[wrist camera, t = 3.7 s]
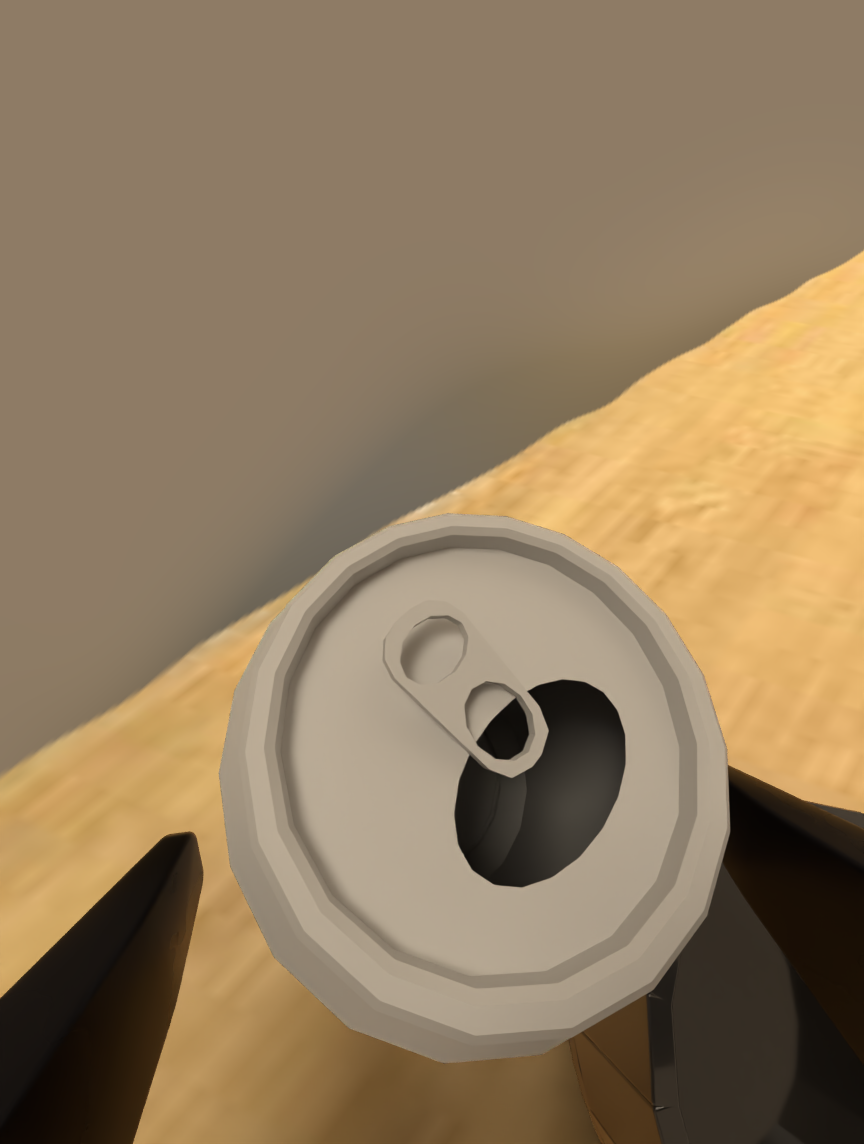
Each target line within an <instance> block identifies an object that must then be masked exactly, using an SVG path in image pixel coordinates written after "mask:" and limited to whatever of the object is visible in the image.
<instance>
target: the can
mask: <svg viewBox="0 0 864 1144" xmlns="http://www.w3.org/2000/svg"><path fill="white" fill-rule="evenodd" d="M219 779H220V787H221V795H222V803H223V812H224V820H225V828H226V836H227V845H228V853H229V861H230V867H231V869H232V871H233V873H234V875H235V878H236V880H237V882H238V884H239V886H240V888H241V890H242V892H243V894H244V896H245V898H246V900H247V902H248V905H249V907H250V909H251V911H252V913H253V915H254V917H255V919H256V921H257V923H258V925H259V927H260V929H261V932H262V934H263V936H264V938H265V940H266V942H267V944H268V946H269V948H270V950H271V952H272V954H273V956H274V958H275V959H276V960H277V961H278V962H280V963H281V964H282V965H283V966H284V967H285V968H286V969H287V970H288V971H289V972H290V973H291V974H292V975H293V976H294V977H295V978H296V979H297V980H298V981H300V982H301V983H302V984H303V985H304V986H305V987H306V988H307V989H308V990H309V991H310V992H311V993H312V994H313V995H314V996H315V997H316V998H317V999H318V1000H319V1001H321V1002H322V1003H323V1004H324V1005H325V1006H326V1007H327V1008H328V1009H329V1010H330V1011H331V1012H332V1013H333V1014H334V1015H335V1016H336V1017H337V1018H338V1019H339V1020H341V1021H342V1022H343V1023H344V1024H345V1025H346V1026H347V1027H348V1028H349V1029H352V1030H355V1031H358V1032H360V1033H363V1034H366V1035H368V1036H371V1037H374V1038H376V1039H379V1040H382V1041H385V1042H387V1043H390V1044H393V1045H395V1046H398V1047H401V1048H403V1049H406V1050H409V1051H412V1052H414V1053H417V1054H420V1055H422V1056H425V1057H428V1058H430V1059H433V1060H436V1061H439V1062H441V1063H455V1062H467V1061H478V1060H489V1059H501V1058H512V1057H524V1056H535V1055H542V1054H544V1053H546V1052H547V1051H549V1050H551V1049H553V1048H554V1047H556V1046H558V1045H559V1044H561V1043H563V1042H565V1041H566V1040H568V1039H570V1038H572V1037H574V1036H575V1035H577V1034H579V1033H581V1032H582V1031H584V1030H586V1029H587V1028H589V1027H591V1026H593V1025H594V1024H596V1023H598V1022H599V1021H601V1020H603V1019H605V1018H606V1017H608V1016H610V1015H611V1014H613V1013H615V1012H616V1011H618V1010H620V1009H622V1008H623V1007H625V1006H627V1005H628V1004H630V1003H632V1002H634V1001H635V1000H637V999H639V998H640V997H642V996H644V995H645V994H647V993H649V992H651V991H652V990H654V988H655V987H656V986H657V984H658V983H659V981H660V980H661V979H662V977H663V976H664V975H665V973H666V972H667V970H668V969H669V968H670V966H671V965H672V964H673V962H674V961H675V959H676V958H677V957H678V955H679V954H680V952H681V951H682V950H683V948H684V947H685V946H686V944H687V943H688V941H689V940H690V939H691V937H692V936H693V935H694V933H695V932H696V930H697V929H698V928H699V926H700V925H701V923H702V922H703V921H704V919H705V918H706V917H707V914H708V910H709V907H710V903H711V900H712V896H713V892H714V889H715V885H716V881H717V878H718V874H719V871H720V867H721V863H722V860H723V856H724V852H725V849H726V845H727V842H728V838H729V834H730V811H729V785H728V758H727V747H726V744H725V740H724V737H723V734H722V731H721V728H720V725H719V722H718V718H717V715H716V712H715V709H714V706H713V703H712V700H711V696H710V693H709V690H708V687H707V684H706V681H705V677H704V675H703V673H702V671H701V670H700V668H699V667H698V665H697V663H696V662H695V660H694V659H693V657H692V655H691V654H690V652H689V650H688V649H687V647H686V646H685V644H684V642H683V641H682V639H681V638H680V636H679V634H678V633H677V631H676V629H675V628H674V626H673V625H672V623H671V621H670V620H669V618H668V617H667V615H666V614H665V613H664V612H663V611H662V610H661V609H660V608H659V607H658V606H657V605H656V604H655V603H654V602H653V601H652V600H651V599H650V598H649V597H648V596H647V595H646V594H645V593H644V592H643V591H642V590H641V589H640V588H639V587H638V586H637V585H636V584H635V583H634V582H633V581H632V580H631V579H630V578H629V577H628V576H627V575H626V574H625V573H624V572H623V571H622V570H621V569H620V568H619V567H618V566H616V565H614V564H613V563H611V562H609V561H608V560H606V559H604V558H603V557H601V556H599V555H598V554H596V553H594V552H593V551H591V550H589V549H588V548H586V547H584V546H583V545H581V544H580V543H578V542H576V541H575V540H573V539H571V538H570V537H568V536H566V535H565V534H562V533H559V532H555V531H552V530H549V529H546V528H542V527H539V526H536V525H533V524H530V523H526V522H523V521H520V520H517V519H514V518H510V517H507V516H490V515H470V514H449V513H447V514H442V515H438V516H433V517H429V518H424V519H420V520H415V521H411V522H406V523H402V524H397V525H393V526H389V527H387V528H385V529H383V530H381V531H380V532H378V533H376V534H374V535H372V536H370V537H369V538H367V539H365V540H363V541H361V542H359V543H358V544H356V545H354V546H352V547H350V548H348V549H347V550H345V551H343V552H341V553H339V554H337V555H336V556H334V557H333V558H332V559H331V560H330V561H329V562H328V563H327V564H326V565H325V566H324V567H323V568H322V569H321V570H320V571H319V572H318V573H317V574H316V575H315V576H314V577H313V578H312V579H311V580H310V581H309V582H308V583H307V584H306V585H305V586H304V587H303V588H302V589H301V590H300V591H299V592H298V593H297V594H296V595H295V596H294V598H293V599H292V600H291V601H290V602H289V603H288V604H287V605H286V607H285V608H284V609H283V610H282V611H281V612H280V613H279V614H278V615H277V616H276V617H275V618H274V619H273V620H272V621H271V623H270V624H269V626H268V628H267V630H266V631H265V633H264V635H263V637H262V639H261V641H260V643H259V645H258V647H257V649H256V650H255V652H254V654H253V656H252V658H251V660H250V662H249V664H248V666H247V668H246V669H245V671H244V673H243V675H242V677H241V679H240V681H239V683H238V685H237V687H236V688H235V691H234V696H233V701H232V707H231V712H230V717H229V722H228V728H227V733H226V738H225V743H224V749H223V754H222V759H221V765H220V770H219Z"/></svg>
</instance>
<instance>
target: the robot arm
mask: <svg viewBox="0 0 864 1144" xmlns="http://www.w3.org/2000/svg"><path fill="white" fill-rule="evenodd" d="M728 785H729V811H730V834H729V838H728V842H727V845H726V849H725V852H724V856H723V860H722V863H723V864H724V866H725V868H726V869H727V871H728V873H729V874H730V876H731V878H732V879H733V881H734V882H735V884H736V886H737V887H738V889H739V890H740V892H741V894H742V895H743V897H744V898H745V900H746V901H747V902H748V904H749V905H750V907H751V908H752V910H753V911H754V913H755V914H756V915H757V917H758V918H759V920H760V921H761V922H762V924H763V925H764V927H765V928H766V929H767V931H768V932H769V934H770V935H771V936H772V938H773V939H774V941H775V942H776V943H777V945H778V946H779V948H780V949H781V950H782V952H783V953H784V955H785V956H786V957H787V959H788V960H789V962H790V963H791V965H792V966H793V967H794V969H795V970H796V972H797V973H798V974H799V976H800V977H801V979H802V980H803V981H804V983H805V984H806V986H807V987H808V988H809V990H810V991H811V993H812V994H813V995H814V997H815V998H816V1000H817V1001H818V1002H819V1004H820V1005H821V1007H822V1008H823V1009H824V1011H825V1012H826V1014H827V1015H828V1016H829V1018H830V1019H831V1021H832V1022H833V1023H834V1025H835V1026H836V1028H837V1029H838V1031H839V1032H840V1033H841V1035H842V1036H843V1038H844V1039H845V1040H846V1042H847V1043H848V1045H849V1046H850V1047H851V1049H852V1050H853V1052H854V1053H855V1054H856V1056H857V1057H858V1059H859V1060H860V1061H861V1063H862V1064H863V1066H864V829H863V828H861V827H859V826H857V825H855V824H852V823H850V822H848V821H846V820H844V819H842V818H840V817H838V816H835V815H833V814H831V813H829V812H827V811H825V810H823V809H820V808H818V807H816V806H814V805H812V804H810V803H808V802H806V801H803V800H801V799H799V798H797V797H795V796H793V795H791V794H789V793H786V792H784V791H782V790H780V789H778V788H776V787H774V786H772V785H769V784H767V783H765V782H763V781H761V780H759V779H757V778H755V777H752V776H750V775H748V774H746V773H744V772H742V771H740V770H738V769H735V768H733V767H731V766H729V765H728ZM202 884H203V866H202V861H201V857H200V852H199V847H198V843H197V838H196V835H195V834H194V833H193V832H183V833H175V834H169V835H166V836H165V837H163V838H162V839H161V840H160V841H159V842H158V843H157V844H156V845H155V846H154V847H153V848H152V849H151V850H150V851H149V852H148V853H147V854H146V855H145V856H144V857H143V858H142V859H141V860H140V861H139V862H138V863H137V864H136V865H135V866H134V867H132V868H131V869H130V870H129V871H128V872H127V873H126V874H125V875H124V876H123V877H122V878H121V879H120V880H119V881H118V882H117V883H116V884H115V885H114V886H113V887H112V888H111V889H110V890H109V891H108V892H107V893H106V894H105V895H104V896H103V897H102V898H101V899H100V900H99V901H98V902H97V903H96V904H95V905H94V906H93V907H92V908H91V909H90V910H89V911H88V912H87V913H86V914H85V915H84V916H83V917H82V918H81V919H80V920H79V921H78V922H77V923H76V924H75V925H74V926H73V927H72V928H71V929H70V930H69V931H68V932H67V933H66V934H65V935H64V936H63V937H62V938H61V939H60V940H59V941H58V942H57V943H56V944H55V945H54V946H53V947H52V948H51V949H50V950H49V951H48V952H47V953H46V954H45V955H44V956H43V957H42V958H41V959H40V960H39V961H38V962H37V963H36V964H35V965H34V966H33V967H32V968H31V969H30V970H29V971H27V972H26V973H25V974H24V975H23V976H22V977H21V978H20V979H19V980H18V981H17V982H16V983H15V984H14V985H13V986H12V987H11V988H10V989H9V990H8V991H7V992H6V993H5V994H4V995H3V996H2V997H1V998H0V1144H133V1141H134V1138H135V1135H136V1132H137V1128H138V1125H139V1122H140V1119H141V1116H142V1112H143V1109H144V1106H145V1103H146V1100H147V1096H148V1093H149V1090H150V1087H151V1084H152V1080H153V1077H154V1074H155V1071H156V1068H157V1064H158V1061H159V1058H160V1055H161V1052H162V1048H163V1045H164V1042H165V1039H166V1036H167V1033H168V1029H169V1026H170V1023H171V1019H172V1016H173V1012H174V1009H175V1005H176V1002H177V998H178V993H179V989H180V985H181V981H182V976H183V971H184V967H185V962H186V958H187V953H188V949H189V944H190V939H191V935H192V930H193V926H194V921H195V917H196V912H197V907H198V903H199V898H200V894H201V889H202Z"/></svg>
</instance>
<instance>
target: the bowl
mask: <svg viewBox="0 0 864 1144" xmlns="http://www.w3.org/2000/svg"><path fill="white" fill-rule="evenodd" d="M803 801H804V800H803ZM806 802H808V803H810V804H812V805H814V806H816V807H818V808H820V809H823V810H825V811H827V812H829V813H831V814H833V815H835V816H838V817H840V818H842V819H844V820H846V821H848V822H850V823H852V824H855V825H857V826H859V827H861V828H863V829H864V813H861V812H857V811H852V810H848V809H843V808H838V807H833V806H828V805H823V804H818V803H813V802H809V801H806ZM569 1043H570V1049H571V1054H572V1060H573V1064H574V1067H575V1071H576V1075H577V1078H578V1082H579V1086H580V1089H581V1093H582V1096H583V1099H584V1102H585V1104H586V1107H587V1110H588V1112H589V1115H590V1118H591V1120H592V1123H593V1126H594V1129H595V1131H596V1133H597V1135H598V1137H599V1139H600V1141H601V1144H864V1066H863V1064H862V1063H861V1061H860V1060H859V1059H858V1057H857V1056H856V1054H855V1053H854V1052H853V1050H852V1049H851V1047H850V1046H849V1045H848V1043H847V1042H846V1040H845V1039H844V1038H843V1036H842V1035H841V1033H840V1032H839V1031H838V1029H837V1028H836V1026H835V1025H834V1023H833V1022H832V1021H831V1019H830V1018H829V1016H828V1015H827V1014H826V1012H825V1011H824V1009H823V1008H822V1007H821V1005H820V1004H819V1002H818V1001H817V1000H816V998H815V997H814V995H813V994H812V993H811V991H810V990H809V988H808V987H807V986H806V984H805V983H804V981H803V980H802V979H801V977H800V976H799V974H798V973H797V972H796V970H795V969H794V967H793V966H792V965H791V963H790V962H789V960H788V959H787V957H786V956H785V955H784V953H783V952H782V950H781V949H780V948H779V946H778V945H777V943H776V942H775V941H774V939H773V938H772V936H771V935H770V934H769V932H768V931H767V929H766V928H765V927H764V925H763V924H762V922H761V921H760V920H759V918H758V917H757V915H756V914H755V913H754V911H753V910H752V908H751V907H750V905H749V904H748V902H747V901H746V900H745V898H744V897H743V895H742V894H741V892H740V890H739V889H738V887H737V886H736V884H735V882H734V881H733V879H732V878H731V876H730V874H729V873H728V871H727V869H726V868H725V866H724V864H723V863H721V867H720V871H719V874H718V878H717V881H716V885H715V889H714V892H713V896H712V900H711V903H710V907H709V910H708V914H707V917H706V918H705V919H704V921H703V922H702V923H701V925H700V926H699V928H698V929H697V930H696V932H695V933H694V935H693V936H692V937H691V939H690V940H689V941H688V943H687V944H686V946H685V947H684V948H683V950H682V951H681V952H680V954H679V955H678V957H677V958H676V959H675V961H674V962H673V964H672V965H671V966H670V968H669V969H668V970H667V972H666V973H665V975H664V976H663V977H662V979H661V980H660V981H659V983H658V984H657V986H656V987H655V988H654V990H652V991H651V992H649V993H647V994H645V995H644V996H642V997H640V998H639V999H637V1000H635V1001H634V1002H632V1003H630V1004H628V1005H627V1006H625V1007H623V1008H622V1009H620V1010H618V1011H616V1012H615V1013H613V1014H611V1015H610V1016H608V1017H606V1018H605V1019H603V1020H601V1021H599V1022H598V1023H596V1024H594V1025H593V1026H591V1027H589V1028H587V1029H586V1030H584V1031H582V1032H581V1033H579V1034H577V1035H575V1036H574V1037H572V1038H570V1039H569Z"/></svg>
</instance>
